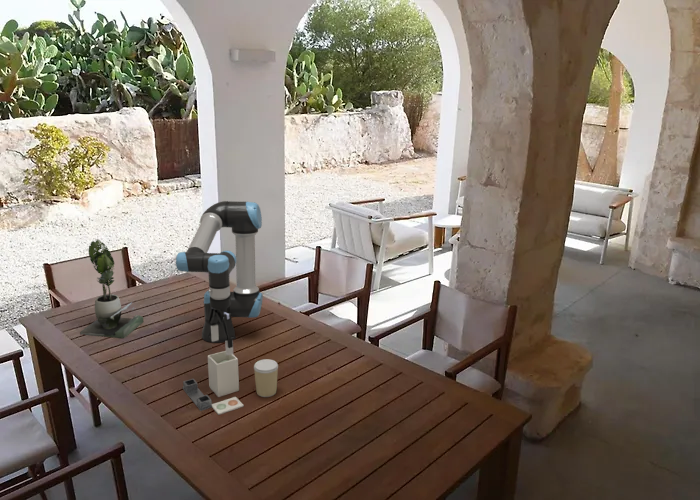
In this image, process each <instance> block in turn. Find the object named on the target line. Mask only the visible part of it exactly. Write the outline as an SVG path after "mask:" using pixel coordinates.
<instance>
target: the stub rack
mask: <svg viewBox="0 0 700 500" xmlns="http://www.w3.org/2000/svg"><path fill="white" fill-rule="evenodd" d="M182 385H183V386H182V390H183V391H184V392H185V394H186V395H187V396H188V397H189V398H190V400H191V402H192V403H194V405H195V406H196V407H197V408H198V410H199V411H200V412H202V411H205V410H208V409H211V408H212V404H213V402H212V400H213V399H211V397H210V396H209V395H208V394H204V393H203V391H201V390H200V388H198V385H199V384H198V382H197V381H196V380H195V378H191V379H188V380H183V381H182Z"/></svg>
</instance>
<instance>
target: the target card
mask: <svg viewBox="0 0 700 500" xmlns="http://www.w3.org/2000/svg"><path fill="white" fill-rule="evenodd" d="M243 407H245V406H244V404H243V403H242V402H241V401H240V400H239V398H238V397H236V396H232V397H231V398H228V399H227V398H226V399H224V400H221V401H218V402H214V403H212V407H211V408H212V409H213V410H214V412H215V413H216V414H217V415H223V414H226V413H228V412H231V411H234V410H237V409H240V408H243Z"/></svg>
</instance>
